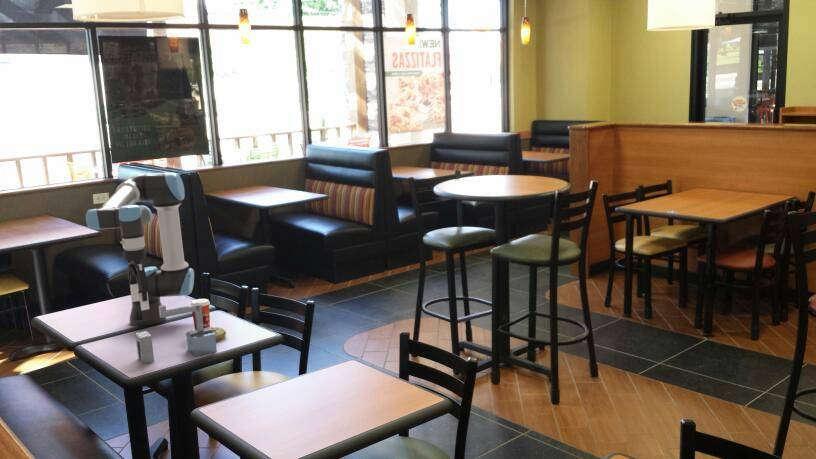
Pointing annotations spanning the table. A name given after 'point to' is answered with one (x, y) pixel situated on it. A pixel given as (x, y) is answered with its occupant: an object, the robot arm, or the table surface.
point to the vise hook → (197, 339)
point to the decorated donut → (219, 333)
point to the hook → (144, 347)
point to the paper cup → (205, 312)
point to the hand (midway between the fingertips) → (140, 305)
